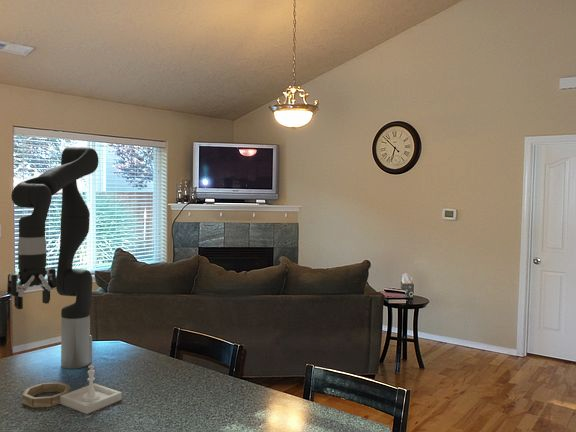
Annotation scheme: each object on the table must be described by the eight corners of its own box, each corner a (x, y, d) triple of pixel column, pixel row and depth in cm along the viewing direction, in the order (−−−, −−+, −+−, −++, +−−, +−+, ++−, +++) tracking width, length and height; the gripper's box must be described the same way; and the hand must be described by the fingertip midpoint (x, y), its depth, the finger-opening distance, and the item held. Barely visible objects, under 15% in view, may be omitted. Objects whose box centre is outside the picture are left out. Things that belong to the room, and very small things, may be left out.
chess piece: (94, 402, 152) (94, 367, 151) (78, 400, 153) (78, 366, 152) (103, 395, 157) (103, 362, 156) (88, 393, 158) (88, 360, 157)
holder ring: (52, 387, 164) (52, 379, 164) (77, 396, 158) (77, 388, 158) (15, 400, 154) (15, 392, 154) (40, 410, 148) (40, 401, 148)
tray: (94, 390, 163) (94, 383, 163) (121, 399, 157) (121, 392, 157) (59, 403, 153) (59, 396, 153) (87, 414, 147) (87, 406, 147)
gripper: (45, 248, 165) (46, 299, 166) (1, 253, 153) (2, 309, 154) (61, 250, 161) (61, 303, 162) (17, 255, 149) (17, 312, 150)
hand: (32, 306), depth 158 cm, fingers open, 8 cm apart
